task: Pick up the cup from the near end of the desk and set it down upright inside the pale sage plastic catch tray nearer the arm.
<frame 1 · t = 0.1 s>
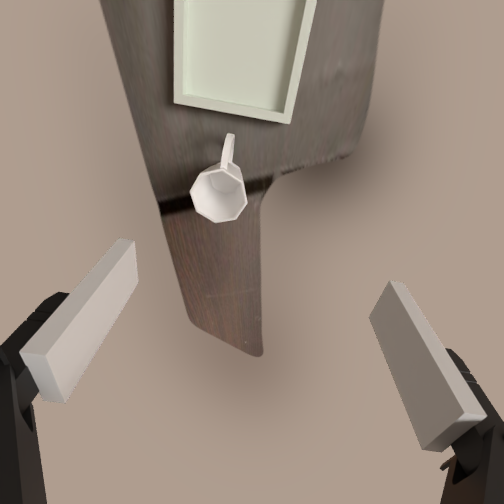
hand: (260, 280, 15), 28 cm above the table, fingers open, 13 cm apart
catch tray: (246, 8, 30), on the table
cup: (228, 165, 39), on the table
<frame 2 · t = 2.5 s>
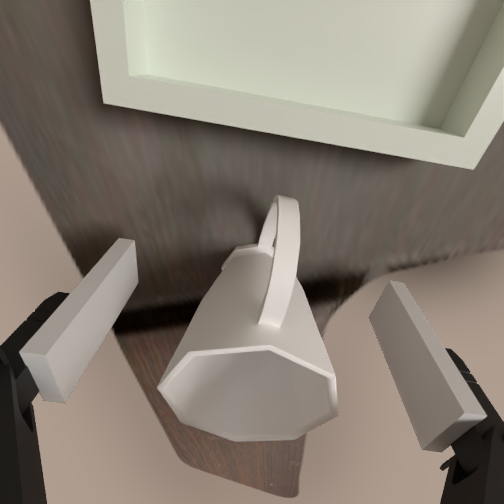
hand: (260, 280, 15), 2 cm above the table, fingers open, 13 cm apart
cup: (262, 250, 16), on the table
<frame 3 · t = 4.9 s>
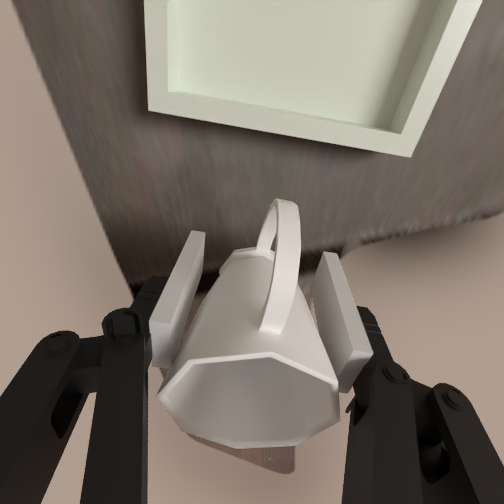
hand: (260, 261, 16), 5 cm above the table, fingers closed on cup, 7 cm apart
cup: (260, 253, 16), point 4 cm above the table, touching gripper
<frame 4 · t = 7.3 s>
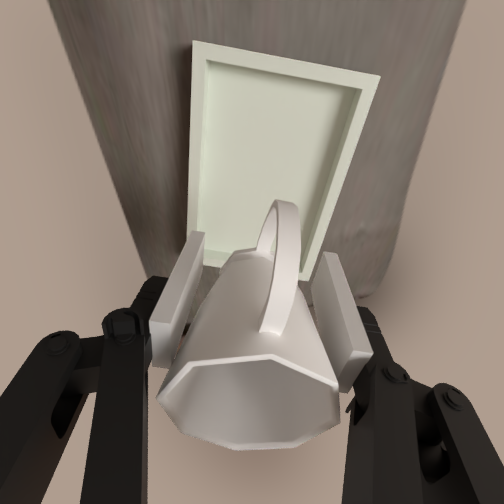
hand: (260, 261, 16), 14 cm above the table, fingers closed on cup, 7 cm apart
catch tray: (264, 178, 28), on the table
cup: (260, 254, 16), point 14 cm above the table, touching gripper
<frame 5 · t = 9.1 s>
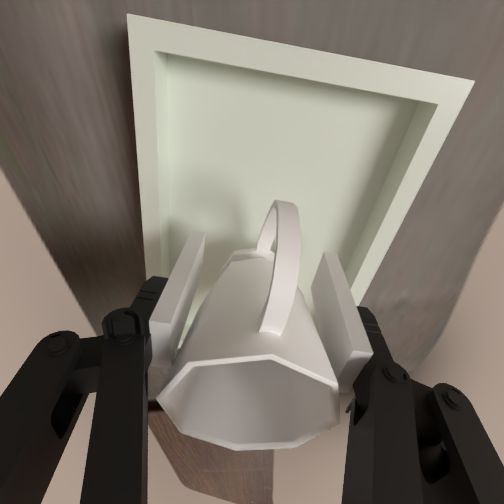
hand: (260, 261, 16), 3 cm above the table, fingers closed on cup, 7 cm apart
catch tray: (262, 233, 19), on the table
cup: (260, 254, 16), point 3 cm above the table, touching gripper
when the fingers open (2 cm above the table, at t = 10.2 s): cup moves 2 cm, resting on catch tray.
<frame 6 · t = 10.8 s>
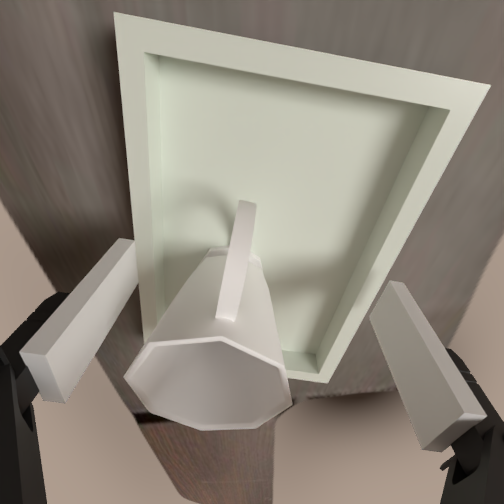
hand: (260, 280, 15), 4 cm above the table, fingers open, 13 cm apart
catch tray: (261, 243, 18), on the table
cup: (235, 251, 17), point 1 cm above the table, touching catch tray
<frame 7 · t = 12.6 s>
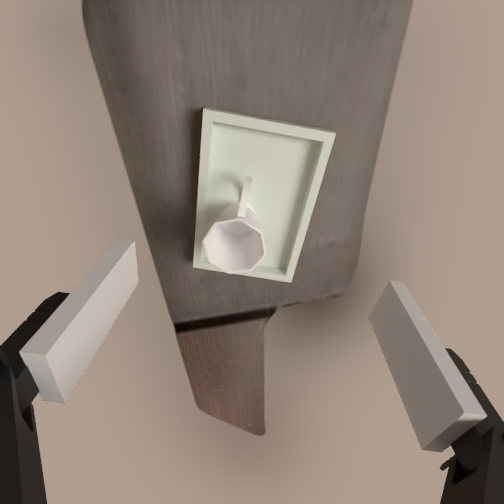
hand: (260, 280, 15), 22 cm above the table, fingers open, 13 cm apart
catch tray: (254, 202, 36), on the table
cup: (242, 205, 36), point 1 cm above the table, touching catch tray
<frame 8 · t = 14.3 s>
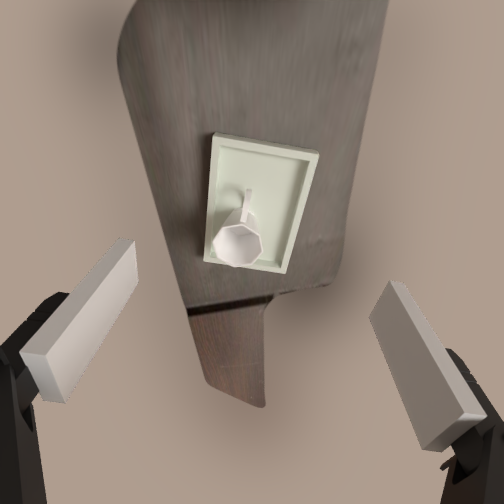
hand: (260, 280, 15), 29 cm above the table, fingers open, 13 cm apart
catch tray: (254, 207, 43), on the table
cup: (244, 210, 43), point 1 cm above the table, touching catch tray
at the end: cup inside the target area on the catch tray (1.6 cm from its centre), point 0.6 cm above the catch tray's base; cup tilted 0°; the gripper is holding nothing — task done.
